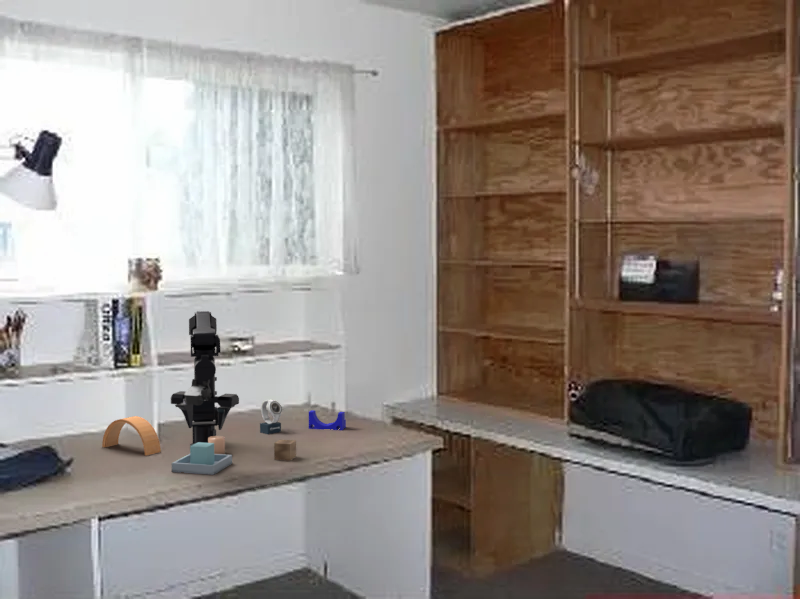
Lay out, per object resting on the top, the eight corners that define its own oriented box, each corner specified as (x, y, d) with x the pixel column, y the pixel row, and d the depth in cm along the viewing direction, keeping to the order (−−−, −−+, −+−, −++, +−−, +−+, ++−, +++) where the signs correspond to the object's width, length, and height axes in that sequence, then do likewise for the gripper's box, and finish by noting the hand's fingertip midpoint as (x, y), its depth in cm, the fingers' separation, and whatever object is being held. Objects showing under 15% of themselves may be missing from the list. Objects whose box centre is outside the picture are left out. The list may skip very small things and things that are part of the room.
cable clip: (345, 428, 302) (345, 411, 302) (342, 430, 298) (342, 413, 297) (312, 426, 305) (312, 409, 304) (308, 429, 300) (308, 411, 300)
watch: (271, 435, 290) (271, 402, 289) (256, 431, 295) (256, 399, 294) (284, 432, 294) (284, 400, 293) (270, 429, 299) (269, 397, 298)
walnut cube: (274, 459, 258) (274, 443, 257) (280, 455, 263) (280, 439, 262) (290, 460, 257) (290, 444, 256) (296, 456, 261) (296, 440, 261)
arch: (145, 456, 262) (145, 423, 261) (102, 447, 272) (101, 415, 272) (160, 452, 266) (160, 420, 266) (117, 443, 277) (116, 412, 277)
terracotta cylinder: (205, 455, 263) (205, 439, 262) (212, 451, 267) (212, 435, 267) (220, 456, 261) (220, 439, 261) (227, 452, 266) (227, 436, 266)
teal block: (190, 467, 246) (190, 446, 246) (198, 462, 251) (198, 442, 251) (206, 468, 245) (206, 447, 245) (214, 463, 250) (214, 443, 250)
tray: (171, 471, 243) (171, 463, 243) (192, 460, 256) (192, 452, 256) (213, 474, 241) (213, 465, 240) (232, 463, 253) (232, 454, 253)
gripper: (160, 377, 242) (161, 433, 243) (222, 380, 238) (223, 437, 239) (179, 371, 253) (180, 424, 254) (239, 374, 249) (239, 428, 250)
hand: (205, 428), depth 249 cm, fingers open, 9 cm apart
